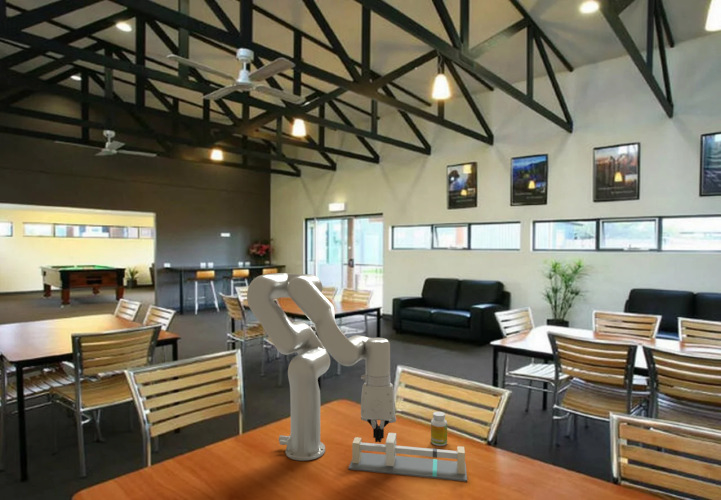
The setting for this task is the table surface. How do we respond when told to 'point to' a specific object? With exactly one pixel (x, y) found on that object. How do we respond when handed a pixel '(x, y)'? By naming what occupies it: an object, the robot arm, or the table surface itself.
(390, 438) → the white block
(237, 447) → the table surface
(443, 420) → the supplement bottle
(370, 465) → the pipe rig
